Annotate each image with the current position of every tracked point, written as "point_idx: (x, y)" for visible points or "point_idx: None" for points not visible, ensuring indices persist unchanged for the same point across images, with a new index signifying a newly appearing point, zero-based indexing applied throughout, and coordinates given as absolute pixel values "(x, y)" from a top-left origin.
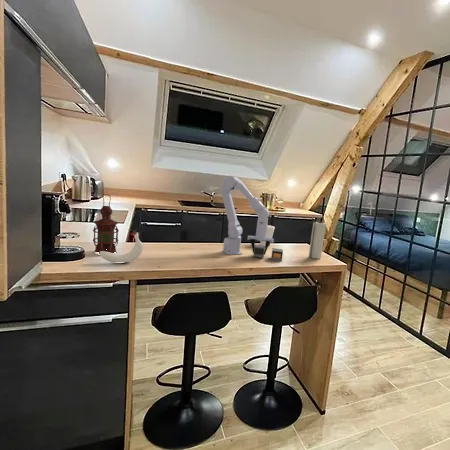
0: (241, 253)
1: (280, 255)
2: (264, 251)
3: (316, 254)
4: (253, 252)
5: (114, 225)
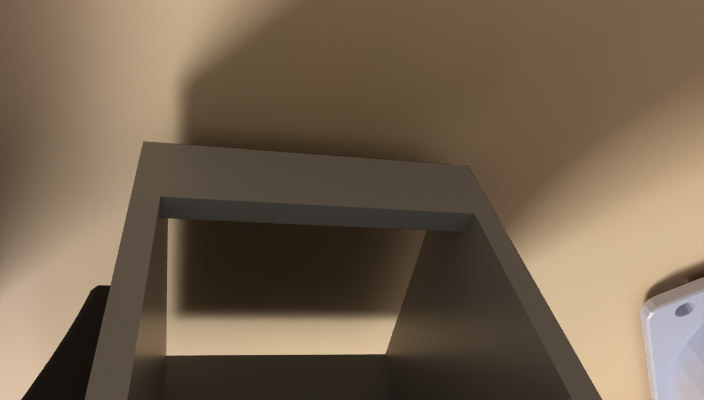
0: (677, 298)
1: None
2: None
3: None
4: None
5: None
